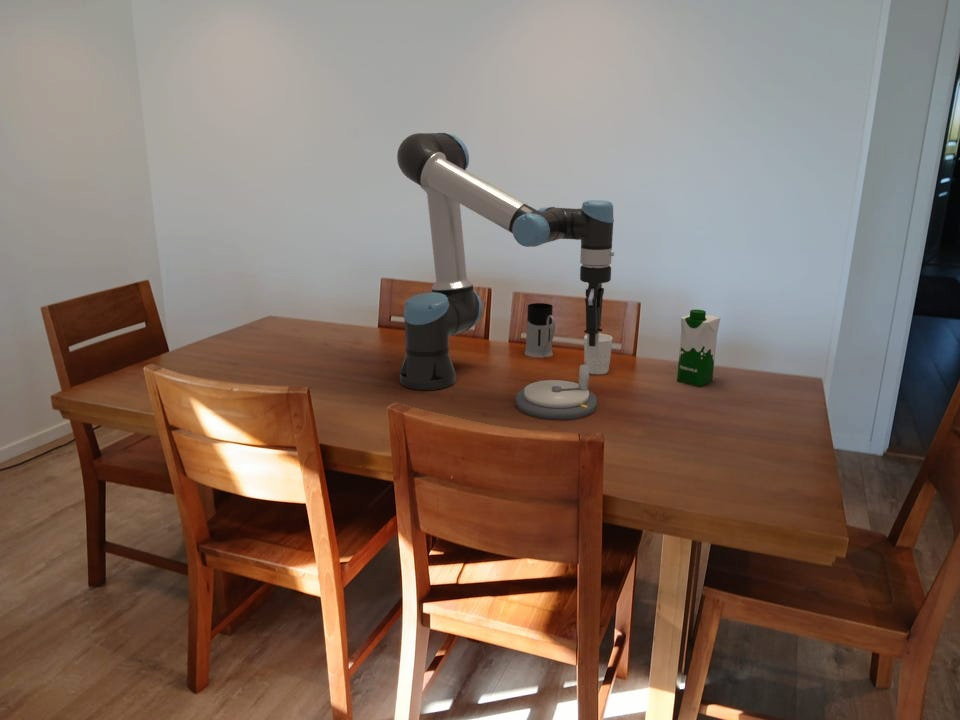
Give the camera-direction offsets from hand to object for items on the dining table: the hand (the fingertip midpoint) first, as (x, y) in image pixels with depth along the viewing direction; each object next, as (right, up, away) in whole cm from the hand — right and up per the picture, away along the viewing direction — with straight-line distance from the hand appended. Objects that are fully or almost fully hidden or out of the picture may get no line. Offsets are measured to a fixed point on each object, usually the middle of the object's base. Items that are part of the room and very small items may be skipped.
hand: (592, 357), depth 185 cm
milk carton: (+30, -7, +14) cm, 34 cm away
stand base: (-10, -12, -4) cm, 16 cm away
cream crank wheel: (-10, -10, -5) cm, 14 cm away
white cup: (+5, -4, +22) cm, 23 cm away
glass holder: (-10, 0, +35) cm, 37 cm away
